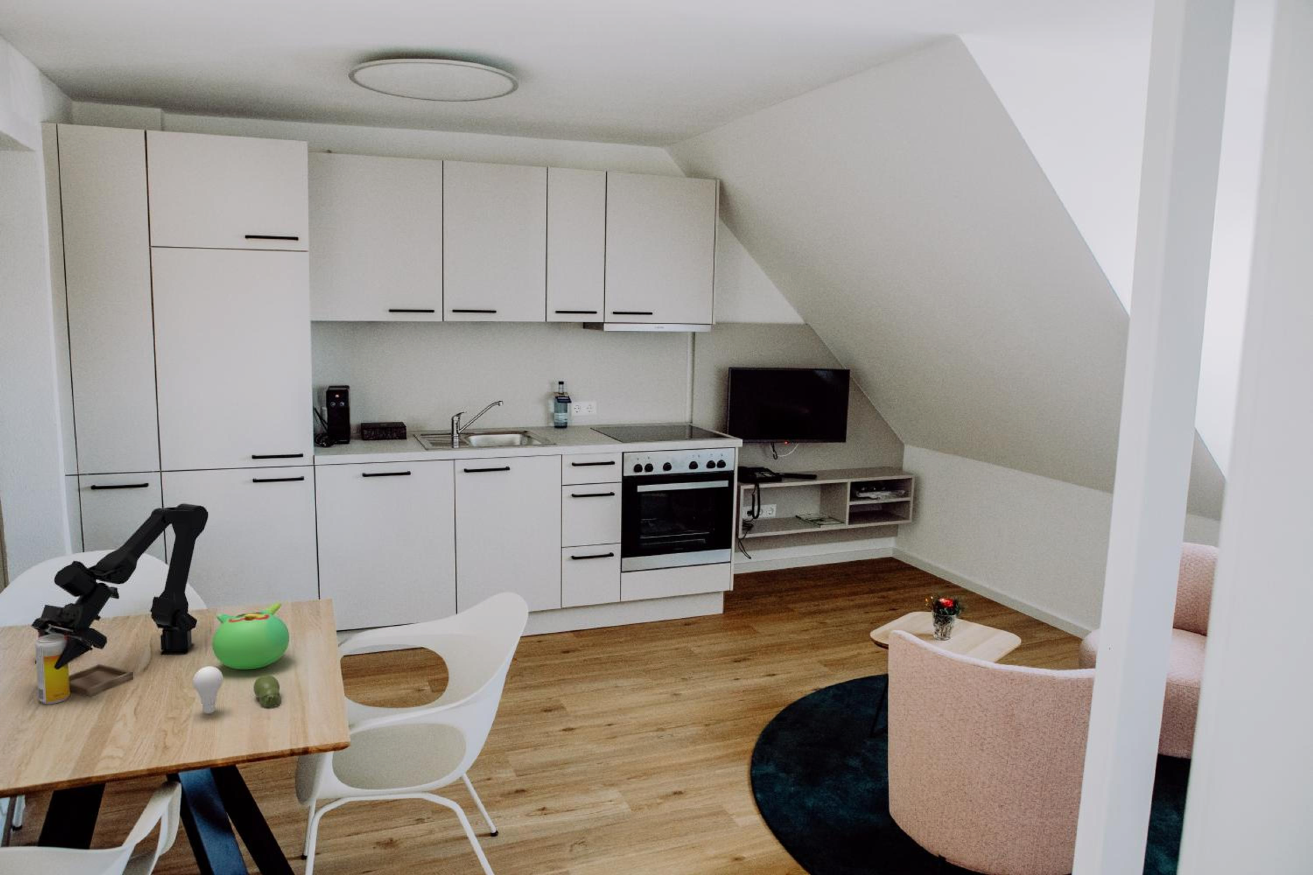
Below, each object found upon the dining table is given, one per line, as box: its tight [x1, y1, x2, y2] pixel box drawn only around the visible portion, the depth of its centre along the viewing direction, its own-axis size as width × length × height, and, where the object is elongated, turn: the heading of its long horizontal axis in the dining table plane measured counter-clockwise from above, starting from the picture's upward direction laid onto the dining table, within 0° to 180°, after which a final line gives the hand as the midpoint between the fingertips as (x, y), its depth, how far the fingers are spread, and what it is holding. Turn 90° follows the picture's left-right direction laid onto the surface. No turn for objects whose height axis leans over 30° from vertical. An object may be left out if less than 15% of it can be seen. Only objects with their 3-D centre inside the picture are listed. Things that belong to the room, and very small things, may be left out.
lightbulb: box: [192, 666, 224, 715], centre depth 209 cm, size 6×6×11 cm
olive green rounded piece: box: [253, 674, 282, 709], centre depth 217 cm, size 6×5×10 cm
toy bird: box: [212, 602, 290, 670], centre depth 236 cm, size 18×17×15 cm
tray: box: [69, 663, 134, 698], centre depth 223 cm, size 12×12×2 cm
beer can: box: [34, 634, 71, 705], centre depth 213 cm, size 6×6×15 cm
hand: (46, 666), depth 212 cm, fingers closed on beer can, 6 cm apart
